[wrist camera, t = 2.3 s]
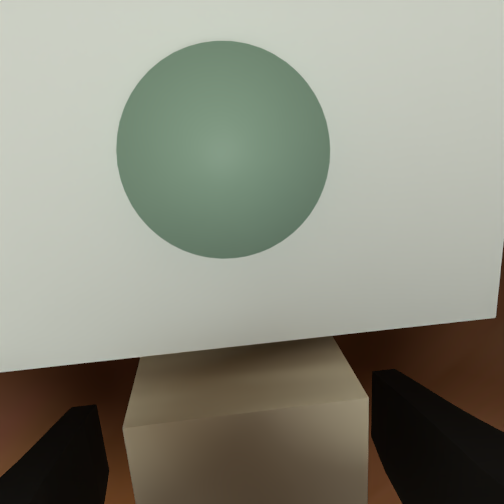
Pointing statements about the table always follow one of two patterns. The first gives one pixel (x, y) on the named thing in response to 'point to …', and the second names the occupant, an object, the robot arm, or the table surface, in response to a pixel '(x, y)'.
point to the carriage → (249, 426)
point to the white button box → (244, 172)
